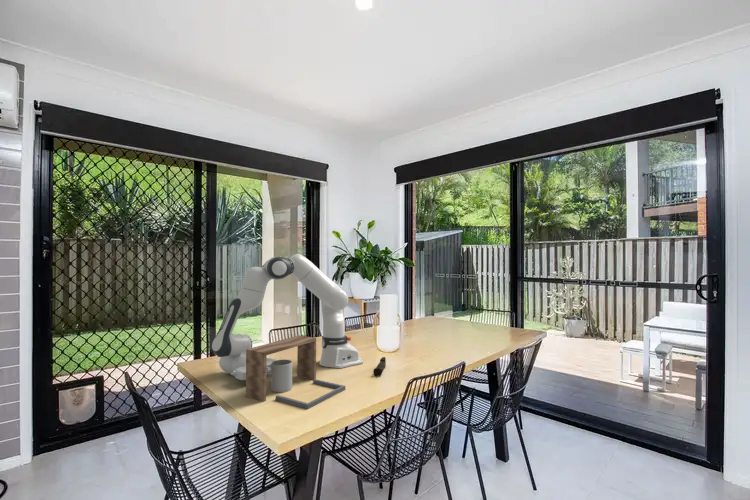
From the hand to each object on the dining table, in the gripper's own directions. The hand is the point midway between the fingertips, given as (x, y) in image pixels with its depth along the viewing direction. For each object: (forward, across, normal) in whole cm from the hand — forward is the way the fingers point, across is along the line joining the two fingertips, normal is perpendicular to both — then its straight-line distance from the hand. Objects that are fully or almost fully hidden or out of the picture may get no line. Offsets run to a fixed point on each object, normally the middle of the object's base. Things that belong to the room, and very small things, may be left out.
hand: (269, 372), depth 161 cm
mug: (+8, 0, +5) cm, 10 cm away
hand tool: (+31, +42, +6) cm, 52 cm away
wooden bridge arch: (+8, 0, +5) cm, 9 cm away
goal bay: (+23, 0, +5) cm, 24 cm away
